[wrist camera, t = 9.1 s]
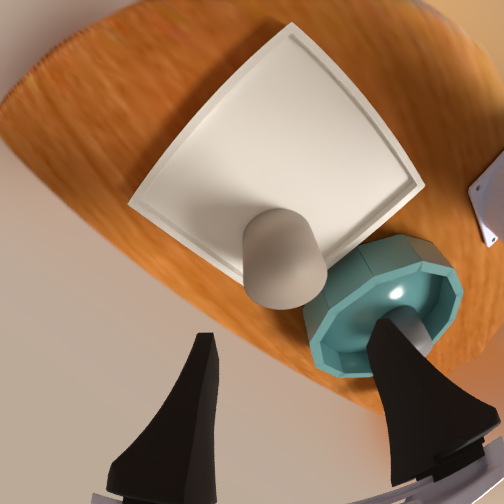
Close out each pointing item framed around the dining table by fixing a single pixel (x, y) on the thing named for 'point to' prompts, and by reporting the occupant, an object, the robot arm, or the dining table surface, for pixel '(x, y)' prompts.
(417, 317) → the charcoal stone
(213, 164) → the parts tray
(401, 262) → the bowl
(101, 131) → the dining table surface
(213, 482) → the robot arm
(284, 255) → the brown stone
